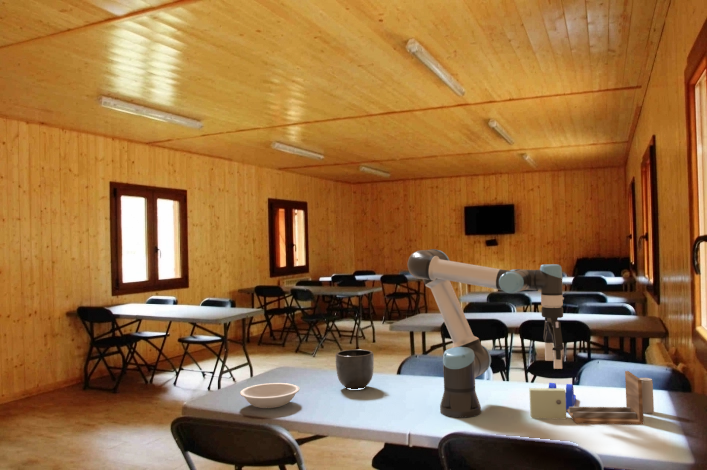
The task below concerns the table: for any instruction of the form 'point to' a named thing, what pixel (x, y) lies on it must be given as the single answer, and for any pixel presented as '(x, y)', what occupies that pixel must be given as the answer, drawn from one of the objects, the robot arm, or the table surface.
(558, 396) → the door panel
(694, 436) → the table surface
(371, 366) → the planter
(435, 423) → the table surface
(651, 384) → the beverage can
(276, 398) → the soup bowl
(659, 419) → the table surface
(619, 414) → the wooden l-shaped piece
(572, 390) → the bracket
